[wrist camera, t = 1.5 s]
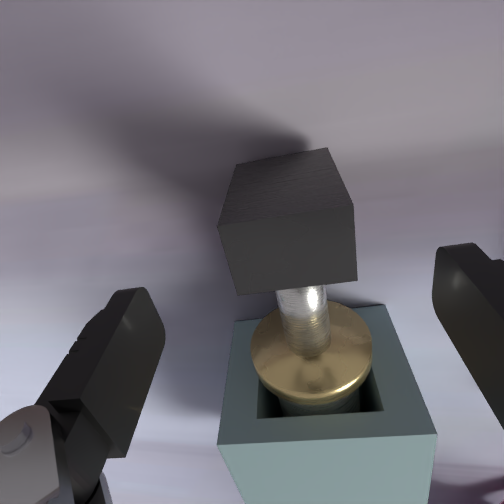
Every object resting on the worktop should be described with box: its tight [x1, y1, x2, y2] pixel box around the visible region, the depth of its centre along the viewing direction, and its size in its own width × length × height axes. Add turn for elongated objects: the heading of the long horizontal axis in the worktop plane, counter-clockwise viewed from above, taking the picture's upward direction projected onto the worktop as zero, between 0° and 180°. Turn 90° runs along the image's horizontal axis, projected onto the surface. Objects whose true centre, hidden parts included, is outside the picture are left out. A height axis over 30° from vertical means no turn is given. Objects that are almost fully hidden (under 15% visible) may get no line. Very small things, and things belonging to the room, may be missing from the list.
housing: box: [217, 305, 437, 504], centre depth 22 cm, size 10×12×8 cm
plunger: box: [217, 148, 372, 417], centre depth 18 cm, size 6×18×6 cm, turn 12°
